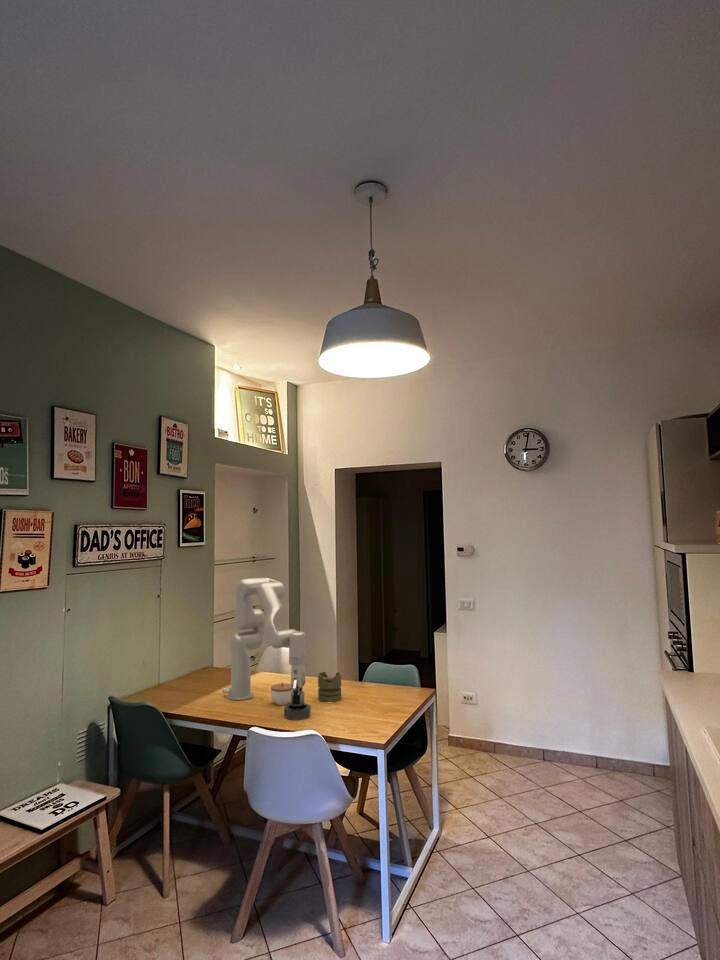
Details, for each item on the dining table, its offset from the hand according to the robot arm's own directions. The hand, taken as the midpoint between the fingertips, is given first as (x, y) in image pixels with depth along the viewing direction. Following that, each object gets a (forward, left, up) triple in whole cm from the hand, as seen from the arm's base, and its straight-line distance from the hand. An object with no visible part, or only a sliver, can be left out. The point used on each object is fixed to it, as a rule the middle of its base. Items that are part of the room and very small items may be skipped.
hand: (297, 701), depth 243 cm
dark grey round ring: (0, 0, -6) cm, 6 cm away
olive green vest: (+11, +26, -6) cm, 29 cm away
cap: (0, 0, -1) cm, 1 cm away
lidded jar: (-11, +19, -6) cm, 23 cm away
